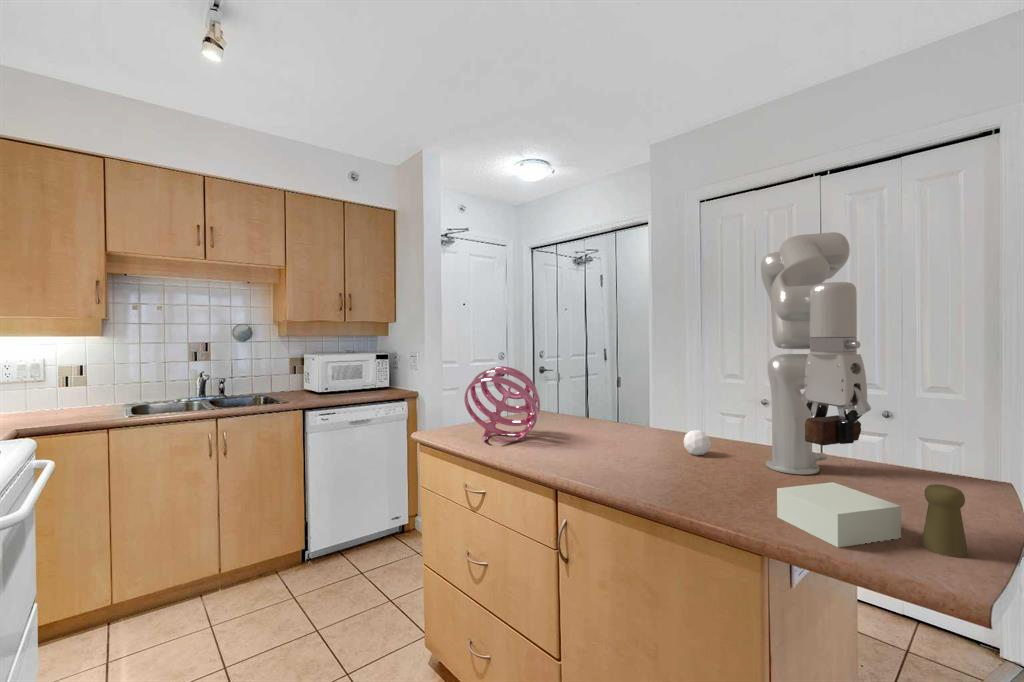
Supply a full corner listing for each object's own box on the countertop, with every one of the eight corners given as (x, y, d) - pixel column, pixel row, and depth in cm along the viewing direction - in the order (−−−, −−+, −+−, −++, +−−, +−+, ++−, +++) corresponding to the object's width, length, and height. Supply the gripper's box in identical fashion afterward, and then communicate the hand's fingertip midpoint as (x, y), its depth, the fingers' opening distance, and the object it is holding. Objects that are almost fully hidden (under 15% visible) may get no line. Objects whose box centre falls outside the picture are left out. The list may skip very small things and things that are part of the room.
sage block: (833, 510, 99) (833, 482, 99) (901, 538, 86) (900, 506, 85) (777, 517, 96) (776, 488, 96) (837, 547, 83) (837, 514, 82)
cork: (911, 542, 84) (911, 481, 84) (942, 540, 85) (942, 480, 84) (945, 558, 78) (945, 493, 78) (978, 556, 78) (978, 491, 78)
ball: (702, 462, 146) (717, 441, 146) (697, 459, 139) (713, 437, 139) (681, 447, 150) (696, 427, 150) (676, 443, 144) (691, 422, 144)
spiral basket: (500, 395, 147) (525, 344, 167) (436, 409, 162) (466, 361, 182) (541, 455, 158) (561, 400, 178) (478, 463, 173) (502, 412, 193)
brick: (824, 446, 87) (824, 421, 87) (804, 442, 91) (804, 418, 91) (861, 440, 91) (862, 416, 91) (841, 436, 95) (841, 413, 94)
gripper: (892, 347, 83) (892, 449, 83) (812, 344, 99) (813, 429, 100) (857, 348, 81) (857, 452, 82) (782, 345, 98) (783, 432, 98)
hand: (833, 439), depth 91 cm, fingers closed on brick, 4 cm apart
